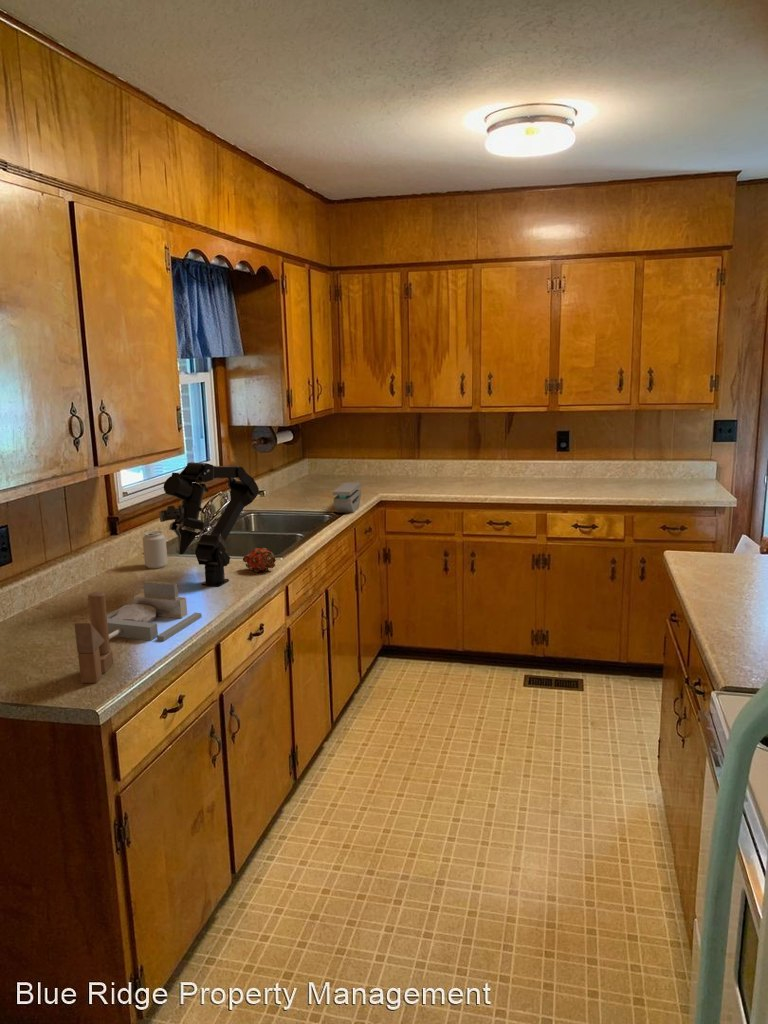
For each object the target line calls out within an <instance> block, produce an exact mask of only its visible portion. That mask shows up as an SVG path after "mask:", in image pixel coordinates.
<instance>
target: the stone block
mask: <svg viewBox="0 0 768 1024" xmlns="http://www.w3.org/2000/svg"><path fill="white" fill-rule="evenodd" d="M119 608H120V610H119V611H118V614H117V615H116V616H115V617H113V618H112V619H120V620H129V621H139V622H148V623H153V622H154V621H155V620H156V618H157V616H156V609H155V608H154V607H152V606H149V605H143V604H134V603H131V604H125V605H123V606H121V607H119Z"/></svg>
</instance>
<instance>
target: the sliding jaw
mask: <svg viewBox="0 0 768 1024" xmlns="http://www.w3.org/2000/svg"><path fill="white" fill-rule="evenodd" d="M142 585H143V593H141V592H140V593H138V594H136V595H134V596H133V604H143V605H149V606H152V607H154V608H155V609H156V617H165V618H172V619H173V618H175V619H183V618H184V617H185V618H186V616H188V607H187V606H188V605H187V597H182V596H179V591H178V583H177V582H168V581H167V582H165V581H157V580H145V581H142Z"/></svg>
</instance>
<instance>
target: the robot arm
mask: <svg viewBox="0 0 768 1024" xmlns="http://www.w3.org/2000/svg"><path fill="white" fill-rule="evenodd" d="M225 478H226V479H228V480H227V481H228V482H227V486H228V487H229V489H230V491H229V497H230V500H229V501H228V504H227V505H226V507H225V509H224V511H223V512H222V514H221V516H220V517H219V519H218V520H217V523H216V524H215V525H214V528H213V530H212V532H211V533H209V534H205V533H204V534H202V535H201V536H200V539H199V540H198V542H197V543H196V547H195V551H194V553H195V556H196V560H197V562H198V565H200V566H201V565H203V566H204V579H205V580H204V581H203V582H201V585H202V586H214V587H220V586H222V585H225V584H226V583H228V582H229V581H230V579H229V578H225V577H226V576H225V567H226V566H228V565H229V564H230V561H231V557H230V555H229V554H228V553H227V552H226V550H227V547H226V541H227V538H228V536H229V535H230V533H231V531H232V530H233V528H234V526H235V524H236V523H237V521H238V519H239V517H240V516H241V514H242V511H243V510H244V508H246V506H247V507H248V505H250V504H252V503H253V502H254V501H255V499H256V497H258V495H259V489H260V488H259V486H258V484H257V483H256V481H255V479H254V478H253V477H252V476H251V475H250V474H249V473H247V472H246V470H245V468H244V467H243V466H241V465H233V464H231V465H227V466H226V465H213V464H212V463H211V464H210V463H207V462H193V461H192V462H191V461H189V462H188V463H187V464H186V466H185V467H184V468H183V470H182V471H181V472H180V473H179V472H172V473H171V476H169V477H168V478H167V479H166V480H165V481H164V483H163V491H164V493H165V494H166V495H168V496H172V497H174V498H177V499H179V500H181V503H180V504H179V505H178V506H177V508H176V507H175V506H174V505H168V506H167V507H166V509H163V510H162V509H161V510H159V511H158V515H159V521H160V523H163V522H167V521H173V522H171V523H169V529H168V530H170V531H173V532H174V534H176V536H177V542H178V543H177V545H178V555H184V553H185V552H186V550H187V549H188V548H189V546H190V545H191V543H192V542H193V541H194V540H195V537H196V536H197V535H198V534H199V532H196V531H197V530H199V531H200V532H203V531H204V530H205V527H206V523H205V521H204V520H201V519H199V516H200V514H201V512H202V511H203V507H202V504H203V503H202V502H203V498H204V493H208V492H209V488H208V487H207V485H206V483H207V482H211V481H213V480H214V479H225ZM237 479H239V480H237Z"/></svg>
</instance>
